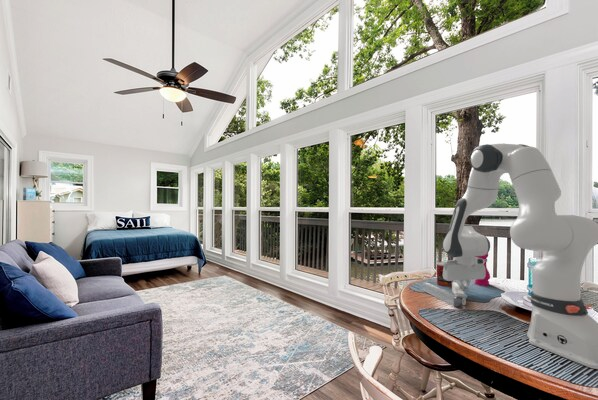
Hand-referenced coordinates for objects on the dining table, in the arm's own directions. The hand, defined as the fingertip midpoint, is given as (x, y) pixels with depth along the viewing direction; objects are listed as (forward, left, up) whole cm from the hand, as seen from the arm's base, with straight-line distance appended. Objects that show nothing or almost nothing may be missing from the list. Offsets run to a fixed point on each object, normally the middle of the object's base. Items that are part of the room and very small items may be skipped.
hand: (464, 289), depth 133 cm
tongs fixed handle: (-3, +14, -3) cm, 15 cm away
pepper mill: (+13, -22, -3) cm, 26 cm away
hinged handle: (-4, +8, -2) cm, 9 cm away
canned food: (+17, -3, -3) cm, 18 cm away
